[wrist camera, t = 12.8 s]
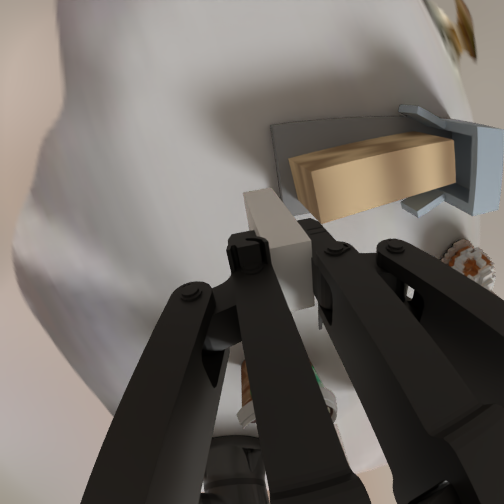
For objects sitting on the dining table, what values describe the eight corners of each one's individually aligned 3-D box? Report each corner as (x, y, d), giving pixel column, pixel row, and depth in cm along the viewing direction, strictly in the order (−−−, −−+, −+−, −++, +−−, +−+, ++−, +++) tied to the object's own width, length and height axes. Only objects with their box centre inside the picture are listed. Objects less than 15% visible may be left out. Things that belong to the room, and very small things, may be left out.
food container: (331, 339, 36) (360, 397, 27) (313, 369, 39) (335, 425, 30) (242, 330, 33) (254, 399, 24) (230, 364, 36) (238, 429, 27)
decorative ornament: (472, 231, 32) (545, 284, 19) (466, 275, 36) (526, 330, 23) (437, 247, 32) (514, 312, 19) (432, 292, 36) (494, 359, 23)
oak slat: (298, 200, 26) (321, 224, 21) (288, 158, 24) (310, 171, 19) (417, 167, 26) (455, 182, 21) (413, 131, 24) (453, 139, 19)
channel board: (284, 226, 28) (311, 268, 21) (268, 111, 23) (295, 108, 16) (449, 196, 29) (496, 221, 22) (450, 108, 24) (503, 117, 17)
